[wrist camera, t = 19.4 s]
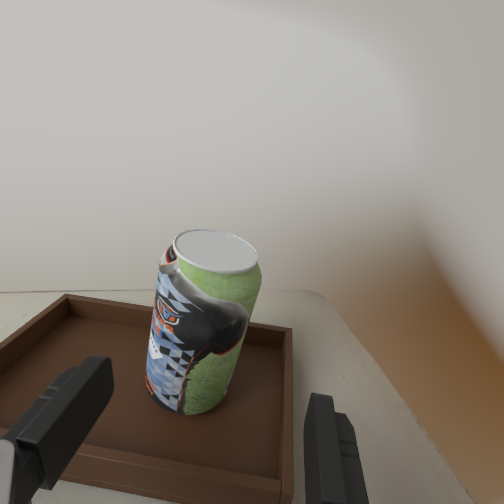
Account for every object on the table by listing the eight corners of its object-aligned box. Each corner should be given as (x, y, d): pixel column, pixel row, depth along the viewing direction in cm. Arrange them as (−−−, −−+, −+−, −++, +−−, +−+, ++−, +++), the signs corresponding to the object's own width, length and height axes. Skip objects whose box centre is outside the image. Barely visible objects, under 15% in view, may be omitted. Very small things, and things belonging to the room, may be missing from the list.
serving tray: (288, 351, 28) (292, 328, 27) (285, 525, 16) (293, 495, 15) (69, 316, 29) (65, 293, 28) (-86, 451, 17) (-103, 419, 16)
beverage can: (166, 351, 26) (164, 214, 21) (252, 368, 25) (271, 229, 20) (126, 417, 20) (111, 248, 15) (237, 441, 19) (258, 272, 14)
